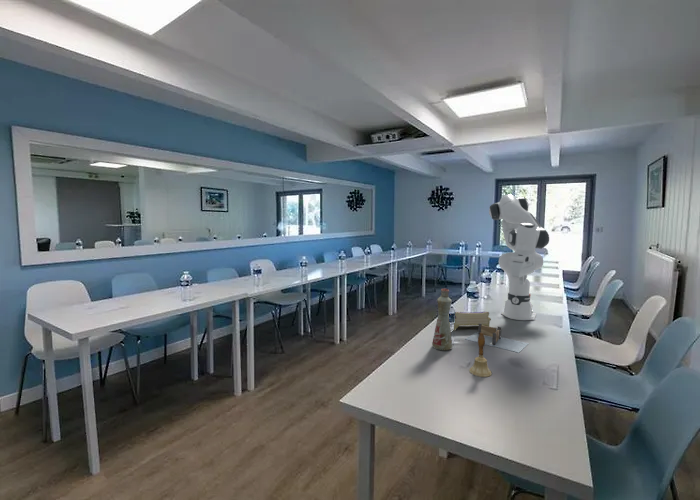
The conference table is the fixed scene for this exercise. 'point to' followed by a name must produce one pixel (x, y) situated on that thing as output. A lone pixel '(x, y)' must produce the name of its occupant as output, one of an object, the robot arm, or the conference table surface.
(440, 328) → the bottle
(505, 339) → the card
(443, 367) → the conference table surface
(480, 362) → the hand bell
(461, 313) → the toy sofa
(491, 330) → the fence fixed
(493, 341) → the fence flap
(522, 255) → the robot arm
